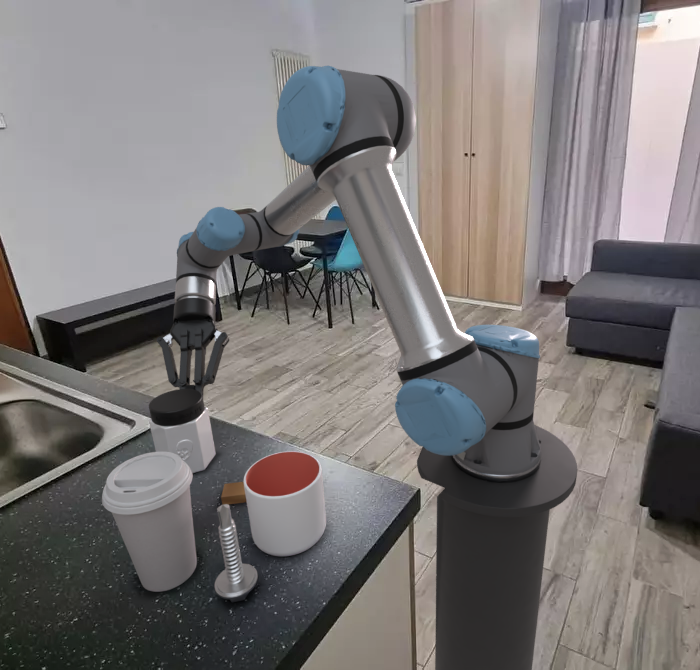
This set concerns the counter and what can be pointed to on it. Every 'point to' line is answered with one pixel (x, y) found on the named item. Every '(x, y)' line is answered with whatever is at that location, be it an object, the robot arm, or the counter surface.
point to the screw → (232, 562)
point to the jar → (183, 427)
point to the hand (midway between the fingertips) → (190, 422)
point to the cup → (285, 502)
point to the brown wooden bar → (233, 493)
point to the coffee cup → (154, 517)
